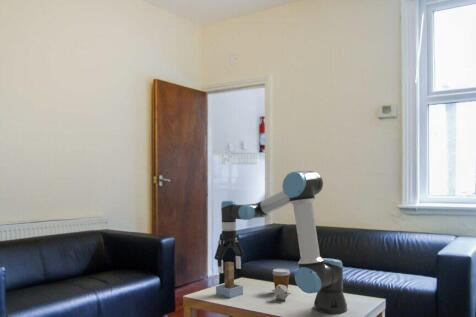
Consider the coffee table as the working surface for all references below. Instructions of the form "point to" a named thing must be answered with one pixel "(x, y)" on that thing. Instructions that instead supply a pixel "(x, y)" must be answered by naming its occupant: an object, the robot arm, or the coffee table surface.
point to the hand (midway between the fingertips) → (229, 270)
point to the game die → (281, 292)
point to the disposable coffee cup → (281, 277)
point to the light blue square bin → (229, 291)
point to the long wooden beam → (229, 275)
